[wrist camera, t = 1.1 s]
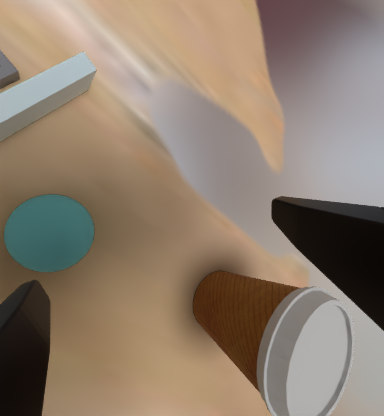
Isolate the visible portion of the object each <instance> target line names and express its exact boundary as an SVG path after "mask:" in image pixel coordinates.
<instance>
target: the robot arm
mask: <svg viewBox="0 0 384 416" xmlns="http://www.w3.org/2000/svg"><path fill="white" fill-rule="evenodd" d="M272 219H273V222H274V223H275V224H276V225H277V226H278V228H279V229H280V230H281V231H282V232H283V233H284V235H285V236H286V237H287V238H288V239H289V240H290V242H291V243H292V244H293V245H294V246H295V247H296V248H297V249H298V250H299V251H300V252H301V253H302V254H303V255H304V256H305V257H306V258H307V259H308V260H310V262H312V263H313V264H314V265H315V266H316V267H317V268H318V269H319V270H320V271H321V272H322V273H323V274H324V275H325V276H326V277H327V278H328V279H329V280H331V281H332V282H333V283H334V284H335V285H336V286H337V287H338V288H339V289H340V290H341V291H343V293H344V294H345V295H346V296H347V297H348V298H350V299H351V300H352V301H353V302H354V303H355V304H356V305H357V306H358V307H359V308H360V309H361V310H362V311H363V312H364V313H365V314H366V315H367V316H369V317H370V318H371V319H372V320H373V321H374V322H375V323H376V324H377V325H378V326H379V327H380V328H381V329H382V330H383V331H384V207H381V208H380V207H376V206H367V205H358V204H349V203H339V202H330V201H320V200H312V199H302V198H293V197H284V196H281V197H278V198H275V199H273V200H272ZM49 353H50V299H49V297H48V295H47V294H46V292H45V290H44V289H43V287H42V286H41V284H40V283H39V281H37V280H32V281H30V282H27V283H24V284H22V285H20V286H19V287H18V288H17V289H16V290H15V291H14V292H13V293H12V294H11V295H10V296H9V297H8V298H7V299H5V300H4V301H3V302H2V303H1V304H0V416H42V409H43V401H44V393H45V385H46V377H47V370H48V362H49Z"/></svg>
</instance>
